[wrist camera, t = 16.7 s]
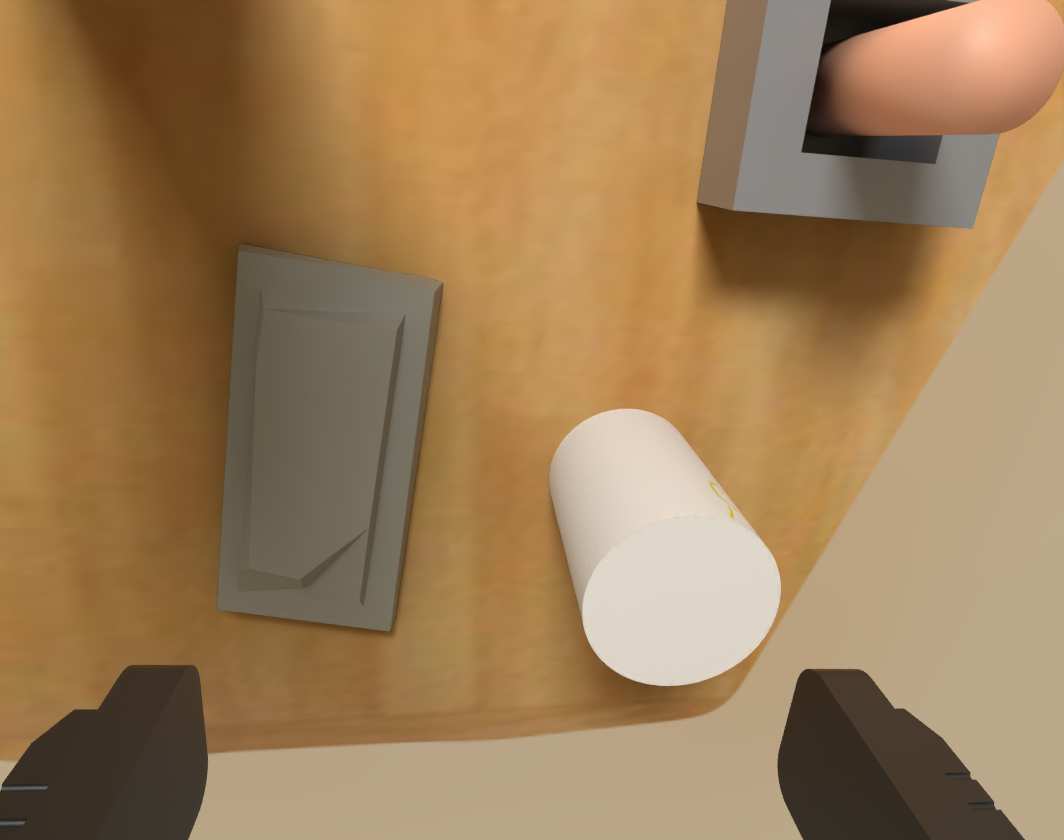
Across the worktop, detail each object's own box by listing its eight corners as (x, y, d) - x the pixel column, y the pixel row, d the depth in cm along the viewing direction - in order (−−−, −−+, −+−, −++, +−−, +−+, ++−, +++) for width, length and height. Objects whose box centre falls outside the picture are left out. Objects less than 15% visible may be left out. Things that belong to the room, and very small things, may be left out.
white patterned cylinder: (683, 540, 42) (763, 683, 31) (545, 541, 41) (575, 688, 30) (701, 409, 39) (796, 514, 28) (552, 408, 38) (590, 515, 27)
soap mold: (217, 591, 41) (196, 629, 38) (239, 240, 34) (215, 249, 31) (397, 612, 42) (391, 651, 39) (451, 280, 36) (450, 292, 33)
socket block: (696, 202, 35) (732, 210, 30) (736, -61, 31) (784, -98, 26) (907, 218, 36) (972, 229, 32) (970, -33, 32) (1055, -63, 28)
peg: (780, 133, 34) (925, 130, 23) (796, 39, 33) (960, -15, 21) (860, 139, 34) (1042, 138, 23) (881, 46, 33) (1085, -3, 22)
